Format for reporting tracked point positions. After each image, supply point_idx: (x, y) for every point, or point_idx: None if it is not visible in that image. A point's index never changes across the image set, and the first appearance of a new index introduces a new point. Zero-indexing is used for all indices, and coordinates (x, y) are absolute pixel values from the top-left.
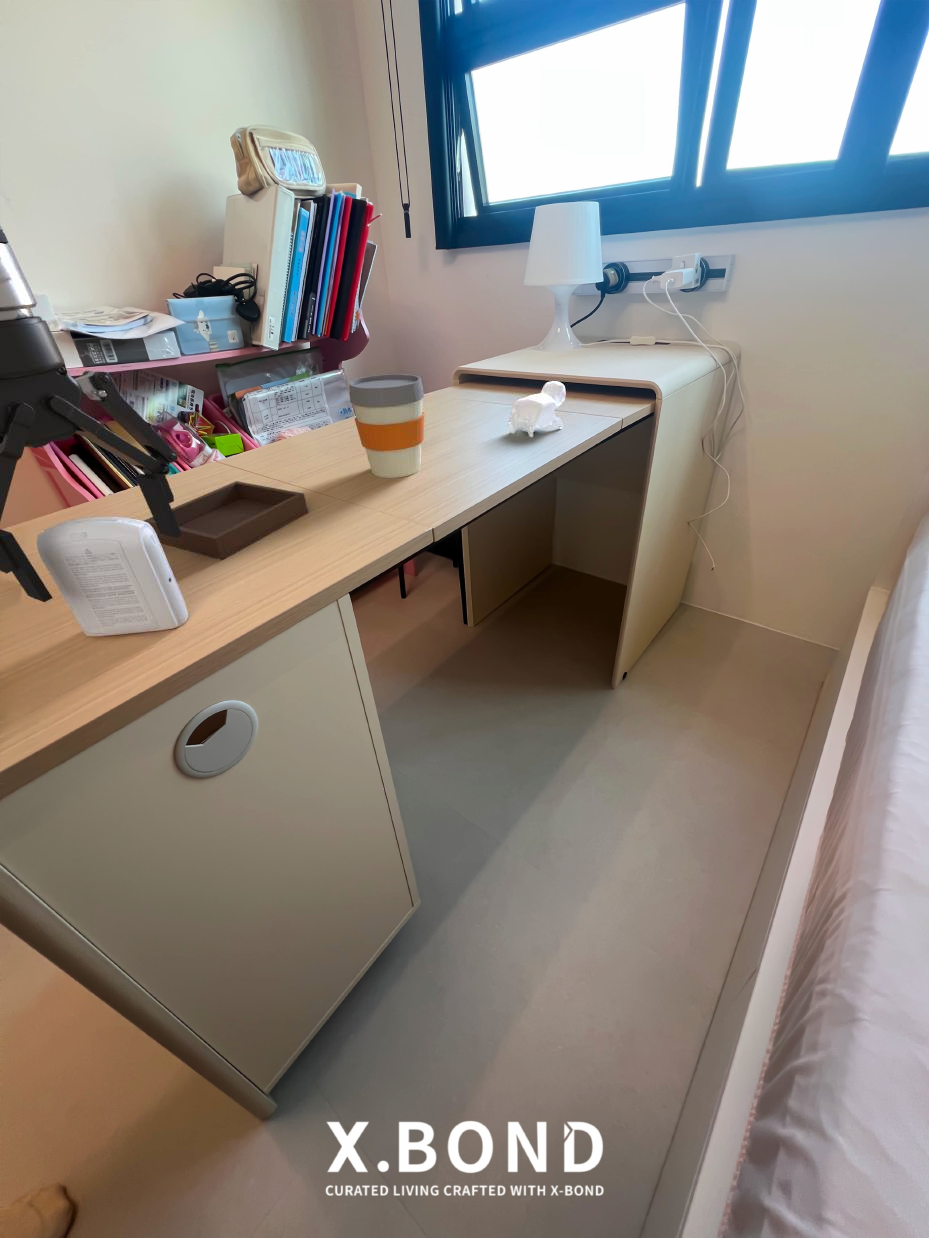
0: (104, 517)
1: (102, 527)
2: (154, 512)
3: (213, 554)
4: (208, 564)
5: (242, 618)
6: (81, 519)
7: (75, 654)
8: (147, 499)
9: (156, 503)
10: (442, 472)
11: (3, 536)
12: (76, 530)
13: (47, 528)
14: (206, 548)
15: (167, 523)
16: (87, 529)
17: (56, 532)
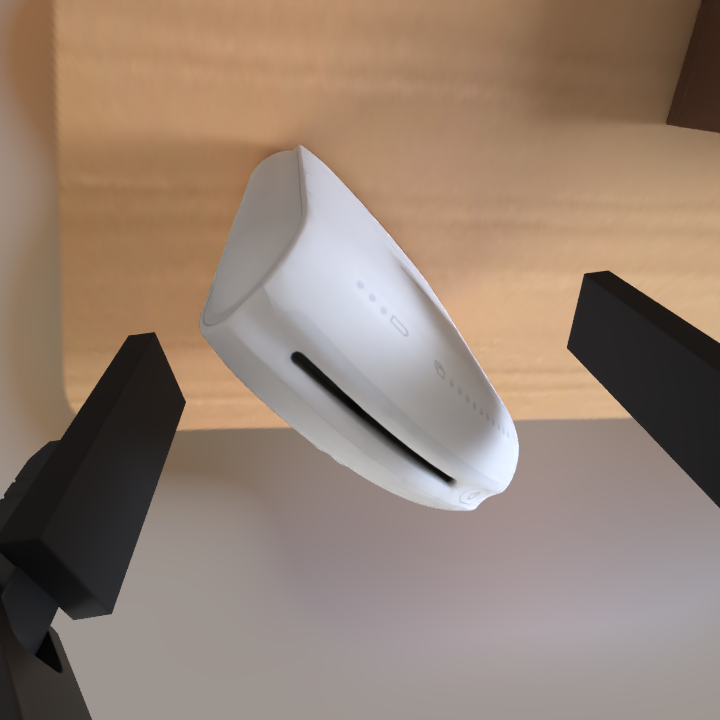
0: (446, 470)
1: (400, 494)
2: (633, 337)
3: (687, 85)
4: (636, 105)
5: None
6: (393, 428)
7: (201, 238)
8: (678, 359)
9: (652, 397)
10: None
11: (81, 614)
12: (338, 458)
13: (277, 306)
14: (710, 53)
15: (597, 361)
16: (365, 475)
17: (283, 411)
